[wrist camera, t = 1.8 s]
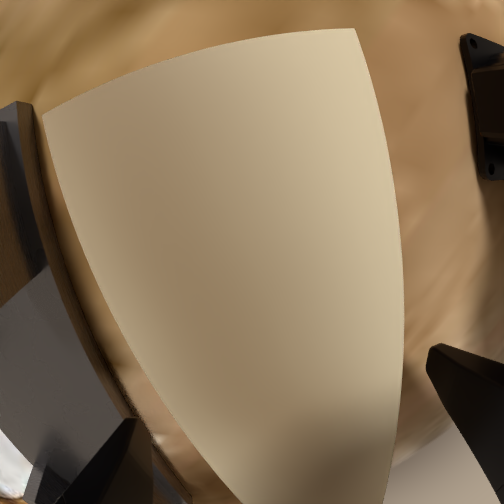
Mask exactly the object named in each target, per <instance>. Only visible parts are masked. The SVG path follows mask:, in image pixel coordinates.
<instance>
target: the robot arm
mask: <svg viewBox="0 0 504 504" xmlns="http://www.w3.org/2000/svg"><path fill="white" fill-rule="evenodd" d="M460 43H461V47H462V51H463V55H464V59H465V64H466V68H467V73H468V78H469V83H470V89H471V95H472V101H473V108H474V116H475V124H476V134H477V146H478V164H479V173H480V176H481V177H482V178H483V179H486V180H491V181H494V180H504V46H501V45H499V44H497V43H494V42H492V41H489V40H487V39H484V38H482V37H479V36H477V35H474V34H471V33H467V34H464V35H462V36H461V37H460ZM426 372H427V374H428V376H429V378H430V380H431V382H432V384H433V386H434V388H435V390H436V392H437V394H438V396H439V398H440V400H441V402H442V403H443V405H444V407H445V409H446V410H447V412H448V414H449V415H450V417H451V418H452V420H453V421H454V423H455V425H456V426H457V428H458V429H459V431H460V433H461V434H462V436H463V437H464V439H465V441H466V442H467V444H468V445H469V447H470V449H471V451H472V452H473V454H474V456H475V457H476V459H477V461H478V462H479V464H480V466H481V468H482V469H483V471H484V473H485V475H486V477H487V478H488V480H489V481H490V484H491V486H492V487H493V489H494V491H495V492H496V495H497V497H498V499H499V501H500V503H501V504H504V364H502V363H499V362H496V361H493V360H490V359H487V358H484V357H481V356H478V355H475V354H472V353H469V352H466V351H463V350H460V349H458V348H455V347H452V346H449V345H446V344H443V343H439V344H437V345H434V346H432V347H431V348H430V349H429V353H428V357H427V362H426ZM153 490H154V479H153V465H152V449H151V437H150V434H149V432H148V431H147V429H146V427H145V426H144V424H143V422H142V421H141V419H140V418H138V417H127V418H125V419H124V420H123V421H122V422H121V424H120V425H119V426H118V427H117V428H116V430H115V431H114V432H113V433H112V435H111V436H110V437H109V438H108V439H107V441H106V442H105V443H104V444H103V445H102V447H101V448H100V449H99V450H98V451H97V453H96V454H95V455H94V456H93V458H92V459H91V460H90V461H89V462H88V464H87V465H86V466H85V467H84V468H83V470H82V471H81V472H80V473H79V474H78V476H77V477H76V478H75V479H74V480H73V482H72V483H71V484H70V485H69V486H68V488H67V489H66V490H65V491H64V492H63V495H61V496H60V497H59V498H58V499H57V501H56V502H55V503H54V504H153Z"/></svg>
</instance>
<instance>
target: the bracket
mask: <svg viewBox="0 0 504 504" xmlns="http://www.w3.org/2000/svg"><path fill="white" fill-rule="evenodd" d="M127 417H135V416H134V414H133V413H132V411H131V409H130V408H129V406H128V404H127V402H126V401H125V399H124V397H123V395H122V393H121V392H120V390H119V388H118V386H117V384H116V382H115V381H114V379H113V377H112V375H111V373H110V371H109V369H108V367H107V365H106V363H105V361H104V359H103V357H102V355H101V353H100V351H99V349H98V346H97V344H96V342H95V340H94V338H93V336H92V333H91V331H90V329H89V326H88V324H87V322H86V319H85V317H84V315H83V312H82V310H81V307H80V305H79V302H78V300H77V297H76V294H75V292H74V289H73V286H72V284H71V281H70V278H69V275H68V272H67V269H66V266H65V263H64V260H63V257H62V254H61V251H60V248H59V244H58V241H57V237H56V234H55V230H54V227H53V223H52V219H51V215H50V211H49V207H48V203H47V199H46V195H45V190H44V185H43V180H42V175H41V170H40V165H39V159H38V153H37V146H36V139H35V132H34V123H33V114H32V104H29V103H24V102H19V101H15V102H13V103H11V104H10V105H8V106H6V107H4V108H2V109H1V110H0V429H1V430H2V432H3V433H4V434H5V435H6V436H7V438H8V439H9V440H10V441H11V442H12V443H13V444H14V446H15V447H16V448H17V449H18V450H19V451H20V452H21V453H22V454H23V455H24V457H25V458H26V459H27V460H28V461H29V462H30V463H31V464H32V465H33V469H32V471H31V474H30V477H29V480H28V483H27V486H26V489H25V492H24V495H23V500H24V501H25V502H27V503H28V504H54V503H55V502H56V501H57V499H58V498H59V497H60V496H61V495H63V492H64V491H65V490H66V489H67V488H68V486H69V485H70V484H71V483H72V482H73V480H74V479H75V478H76V477H77V476H78V474H79V473H80V472H81V471H82V470H83V468H84V467H85V466H86V465H87V464H88V462H89V461H90V460H91V459H92V458H93V456H94V455H95V454H96V453H97V451H98V450H99V449H100V448H101V447H102V445H103V444H104V443H105V442H106V441H107V439H108V438H109V437H110V436H111V435H112V433H113V432H114V431H115V430H116V428H117V427H118V426H119V425H120V424H121V422H122V421H123V420H124V419H125V418H127ZM151 449H152V465H153V479H154V490H153V504H192V497H191V496H190V494H189V493H188V492H187V491H186V489H185V488H184V487H183V486H182V484H181V483H180V482H179V480H178V479H177V478H176V477H175V475H174V474H173V473H172V471H171V470H170V468H169V467H168V466H167V464H166V463H165V462H164V460H163V459H162V457H161V456H160V454H159V453H158V452H157V450H156V449H155V447H154V446H153V444H152V443H151Z"/></svg>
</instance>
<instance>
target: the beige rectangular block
mask: <svg viewBox="0 0 504 504" xmlns="http://www.w3.org/2000/svg"><path fill="white" fill-rule="evenodd" d="M42 119H43V123H44V128H45V132H46V136H47V140H48V144H49V148H50V152H51V156H52V160H53V163H54V167H55V170H56V174H57V177H58V180H59V184H60V187H61V190H62V193H63V196H64V199H65V202H66V205H67V208H68V211H69V214H70V217H71V220H72V222H73V225H74V228H75V230H76V233H77V236H78V238H79V241H80V243H81V246H82V248H83V251H84V253H85V256H86V258H87V261H88V263H89V265H90V268H91V270H92V272H93V274H94V277H95V279H96V281H97V283H98V286H99V288H100V290H101V292H102V294H103V296H104V298H105V300H106V302H107V305H108V307H109V309H110V311H111V313H112V315H113V317H114V319H115V321H116V322H117V324H118V326H119V328H120V330H121V332H122V334H123V336H124V338H125V339H126V341H127V343H128V345H129V347H130V348H131V350H132V352H133V354H134V356H135V357H136V359H137V361H138V362H139V364H140V366H141V368H142V369H143V371H144V373H145V374H146V376H147V377H148V379H149V381H150V382H151V384H152V386H153V387H154V389H155V390H156V392H157V393H158V395H159V396H160V398H161V400H162V401H163V403H164V404H165V406H166V407H167V409H168V410H169V412H170V413H171V414H172V416H173V417H174V419H175V420H176V422H177V423H178V424H179V426H180V427H181V429H182V430H183V431H184V433H185V434H186V436H187V437H188V438H189V440H190V441H191V442H192V444H193V445H194V446H195V448H196V449H197V450H198V451H199V453H200V454H201V455H202V457H203V458H204V459H205V460H206V462H207V463H208V464H209V465H210V467H211V468H212V469H213V470H214V471H215V473H216V474H217V475H218V476H219V477H220V479H221V480H222V481H223V482H224V483H225V484H226V486H227V487H228V488H229V489H230V490H231V491H232V492H233V493H234V495H235V496H236V497H237V498H238V499H239V500H240V501H241V502H242V503H243V504H382V503H383V499H384V495H385V491H386V486H387V482H388V477H389V472H390V467H391V462H392V456H393V450H394V444H395V438H396V431H397V423H398V415H399V406H400V396H401V385H402V370H403V350H404V287H403V266H402V251H401V239H400V229H399V220H398V211H397V203H396V196H395V189H394V182H393V176H392V170H391V164H390V159H389V153H388V148H387V143H386V138H385V133H384V129H383V124H382V120H381V116H380V112H379V107H378V104H377V100H376V96H375V92H374V88H373V85H372V81H371V78H370V74H369V71H368V68H367V64H366V61H365V58H364V55H363V52H362V49H361V46H360V43H359V40H358V37H357V34H356V31H355V29H354V28H351V29H327V30H313V31H303V32H293V33H285V34H278V35H271V36H264V37H258V38H253V39H247V40H242V41H237V42H232V43H228V44H223V45H219V46H215V47H211V48H207V49H203V50H199V51H195V52H192V53H188V54H185V55H181V56H178V57H175V58H171V59H168V60H165V61H162V62H159V63H156V64H153V65H150V66H147V67H145V68H142V69H139V70H137V71H134V72H131V73H129V74H126V75H124V76H121V77H119V78H116V79H114V80H111V81H109V82H107V83H105V84H102V85H100V86H98V87H96V88H93V89H91V90H89V91H87V92H85V93H83V94H81V95H79V96H77V97H75V98H73V99H71V100H69V101H67V102H65V103H63V104H61V105H59V106H57V107H56V108H54V109H52V110H50V111H48V112H47V113H45V114H43V115H42Z"/></svg>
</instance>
